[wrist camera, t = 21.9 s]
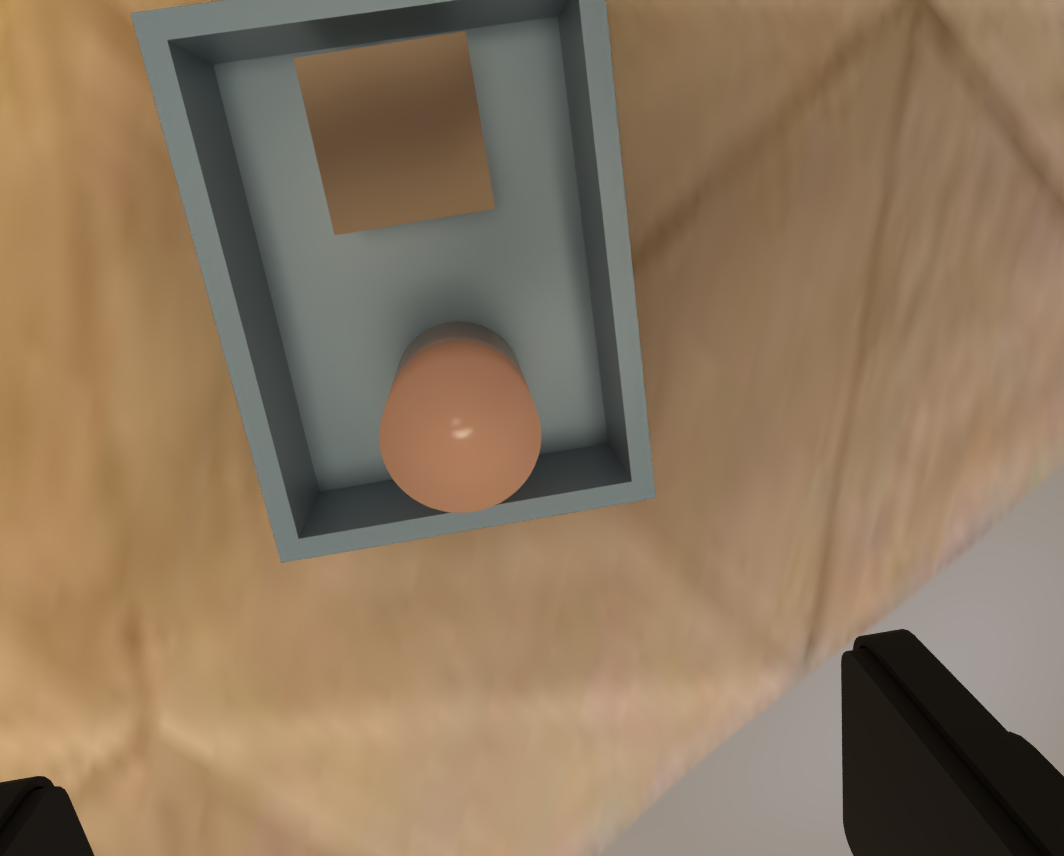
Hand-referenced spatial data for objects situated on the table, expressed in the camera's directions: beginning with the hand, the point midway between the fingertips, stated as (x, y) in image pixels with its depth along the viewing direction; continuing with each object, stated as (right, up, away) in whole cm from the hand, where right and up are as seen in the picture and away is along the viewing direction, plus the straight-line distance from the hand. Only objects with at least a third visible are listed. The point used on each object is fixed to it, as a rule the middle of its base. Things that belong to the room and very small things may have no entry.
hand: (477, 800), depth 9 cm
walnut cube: (-4, +15, +18) cm, 24 cm away
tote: (-3, +11, +20) cm, 23 cm away
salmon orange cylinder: (-2, +6, +21) cm, 22 cm away
